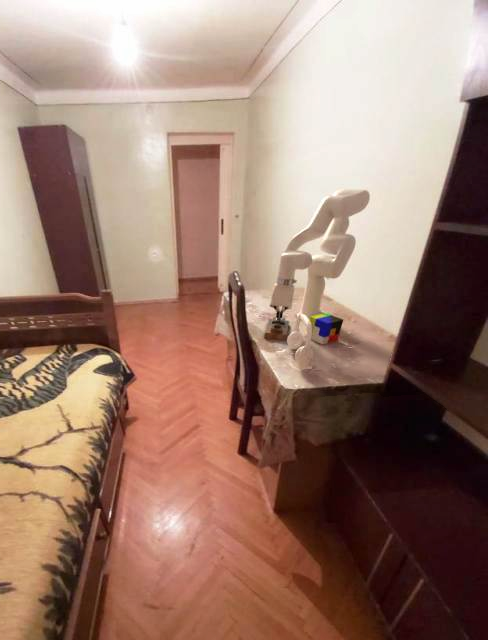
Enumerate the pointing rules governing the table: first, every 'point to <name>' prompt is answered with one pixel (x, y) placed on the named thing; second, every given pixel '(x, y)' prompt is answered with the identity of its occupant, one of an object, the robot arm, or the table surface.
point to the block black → (283, 322)
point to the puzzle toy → (325, 328)
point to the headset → (296, 340)
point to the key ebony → (277, 325)
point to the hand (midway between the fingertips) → (278, 319)
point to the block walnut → (276, 332)
